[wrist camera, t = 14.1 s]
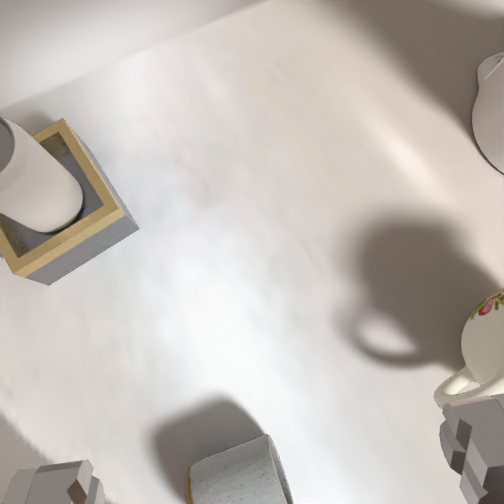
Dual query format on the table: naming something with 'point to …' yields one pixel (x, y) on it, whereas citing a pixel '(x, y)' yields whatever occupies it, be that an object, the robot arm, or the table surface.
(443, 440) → the robot arm
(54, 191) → the can
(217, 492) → the ceramic mug
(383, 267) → the table surface
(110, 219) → the drawer
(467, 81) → the table surface
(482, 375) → the pitcher
